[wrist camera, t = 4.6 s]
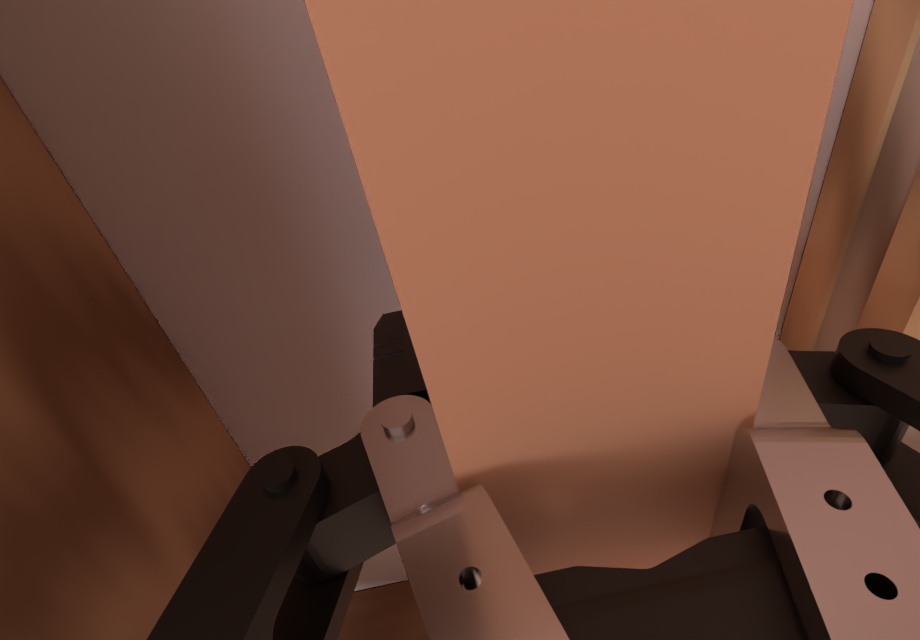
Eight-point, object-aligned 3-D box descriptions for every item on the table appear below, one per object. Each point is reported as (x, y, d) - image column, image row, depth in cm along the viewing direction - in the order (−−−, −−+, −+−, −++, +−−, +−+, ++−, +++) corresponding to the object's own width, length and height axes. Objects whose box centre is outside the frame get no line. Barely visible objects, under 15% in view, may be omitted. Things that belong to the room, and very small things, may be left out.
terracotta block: (334, -99, 9) (234, -223, 3) (549, -149, 9) (947, -392, 3) (477, 455, 19) (530, 717, 12) (584, 430, 19) (693, 681, 12)
